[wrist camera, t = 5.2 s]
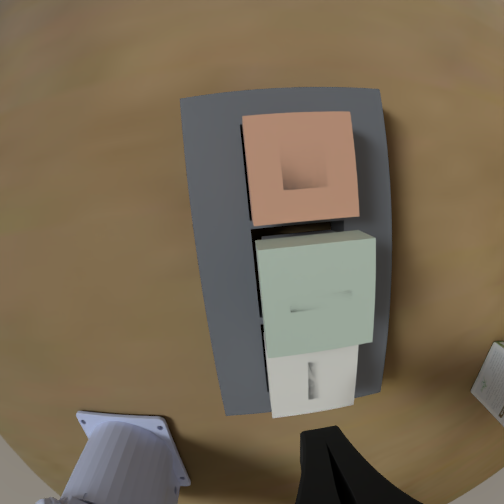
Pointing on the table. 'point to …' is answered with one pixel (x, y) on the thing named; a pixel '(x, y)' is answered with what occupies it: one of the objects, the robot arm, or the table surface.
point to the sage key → (316, 290)
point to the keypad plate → (240, 224)
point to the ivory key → (312, 381)
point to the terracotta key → (300, 166)
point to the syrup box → (492, 382)
